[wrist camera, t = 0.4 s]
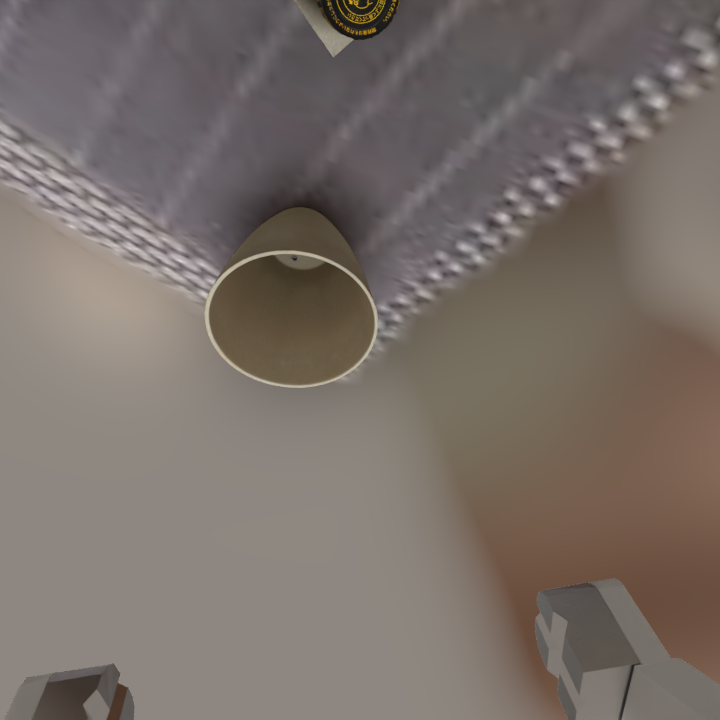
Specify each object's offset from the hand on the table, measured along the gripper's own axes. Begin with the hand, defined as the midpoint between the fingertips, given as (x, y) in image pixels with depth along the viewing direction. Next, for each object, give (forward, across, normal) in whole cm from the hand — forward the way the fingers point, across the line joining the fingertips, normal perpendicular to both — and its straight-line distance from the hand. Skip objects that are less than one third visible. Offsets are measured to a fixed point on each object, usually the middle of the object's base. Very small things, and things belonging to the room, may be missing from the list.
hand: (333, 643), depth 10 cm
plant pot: (+52, +1, +6) cm, 52 cm away
